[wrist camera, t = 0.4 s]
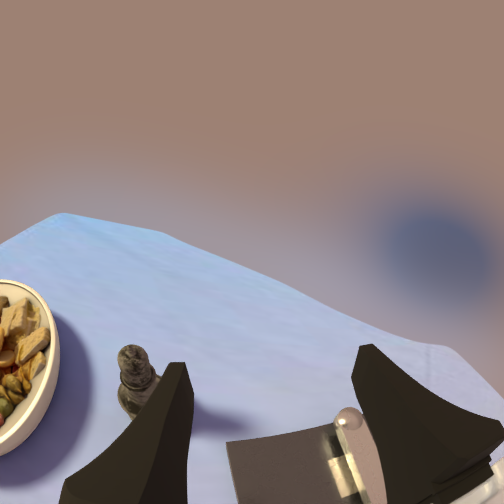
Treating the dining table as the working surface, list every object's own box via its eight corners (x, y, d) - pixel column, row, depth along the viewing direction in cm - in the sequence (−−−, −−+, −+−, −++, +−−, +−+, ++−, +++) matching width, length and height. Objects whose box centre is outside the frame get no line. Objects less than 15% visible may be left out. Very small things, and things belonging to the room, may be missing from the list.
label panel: (417, 526, 15) (427, 523, 14) (260, 587, 11) (264, 590, 10) (369, 414, 29) (376, 407, 28) (225, 444, 25) (226, 439, 24)
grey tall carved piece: (170, 385, 31) (160, 317, 24) (179, 428, 26) (167, 372, 20) (123, 388, 29) (97, 321, 22) (127, 432, 24) (94, 376, 18)
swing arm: (404, 533, 14) (415, 530, 13) (376, 548, 13) (386, 547, 12) (353, 410, 28) (360, 402, 27) (326, 417, 27) (332, 410, 26)
